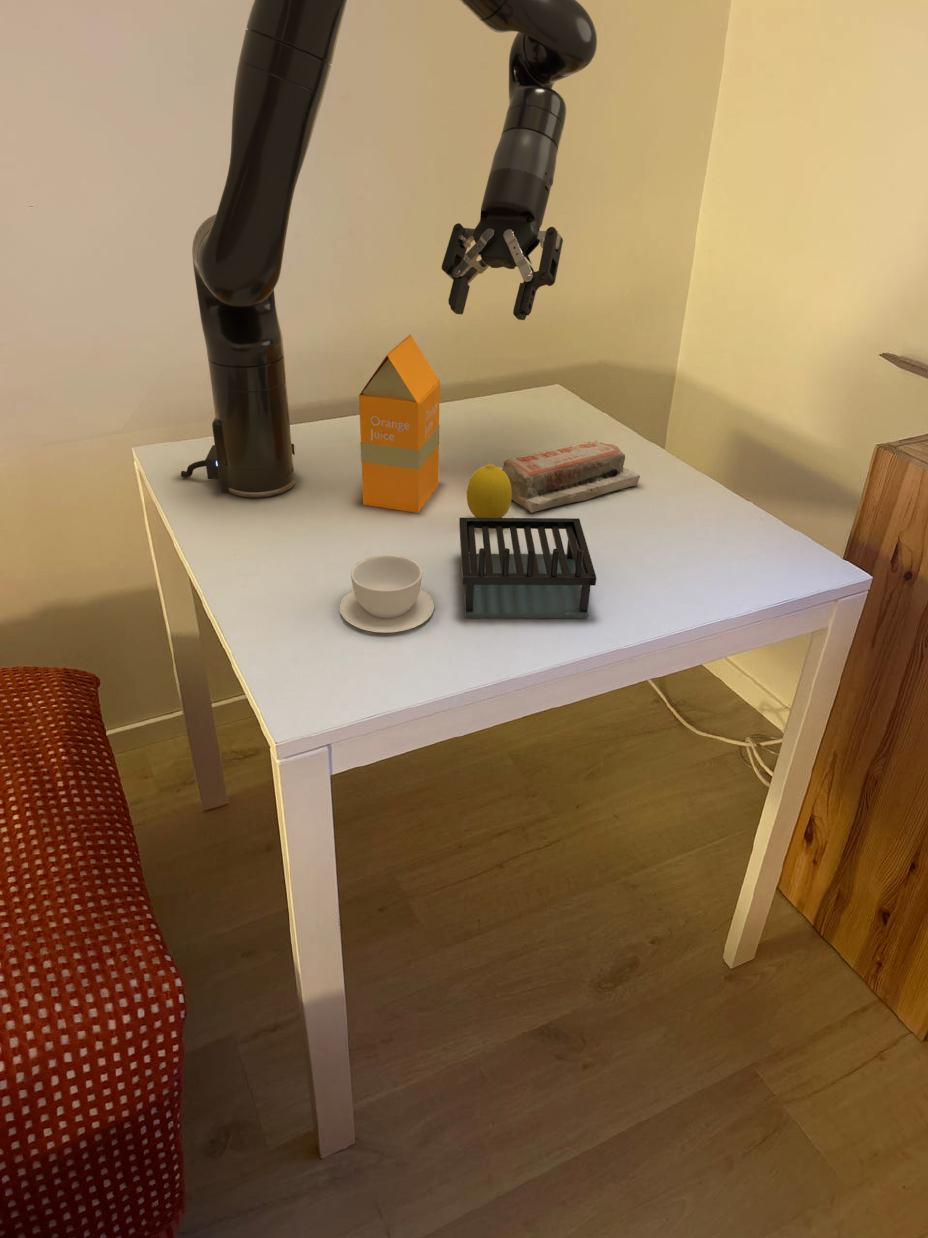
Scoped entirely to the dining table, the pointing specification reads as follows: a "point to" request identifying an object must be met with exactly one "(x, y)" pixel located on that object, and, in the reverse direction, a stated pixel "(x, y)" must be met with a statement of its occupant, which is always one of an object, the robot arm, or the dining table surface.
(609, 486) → the packaged product
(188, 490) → the dining table surface
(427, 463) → the orange juice
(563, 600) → the dish rack
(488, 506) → the lemon
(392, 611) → the teacup
